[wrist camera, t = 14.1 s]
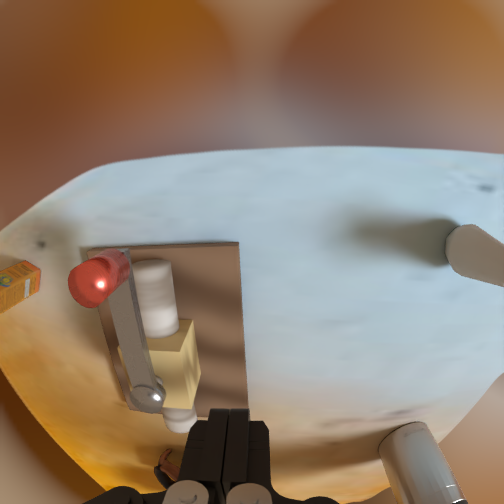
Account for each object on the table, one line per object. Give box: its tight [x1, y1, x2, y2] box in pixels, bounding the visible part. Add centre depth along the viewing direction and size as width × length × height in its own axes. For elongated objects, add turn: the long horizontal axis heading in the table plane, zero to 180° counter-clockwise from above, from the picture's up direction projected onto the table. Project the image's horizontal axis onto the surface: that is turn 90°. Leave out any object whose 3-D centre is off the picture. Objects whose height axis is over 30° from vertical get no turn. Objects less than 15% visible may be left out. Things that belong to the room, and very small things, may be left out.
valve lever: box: [68, 248, 166, 414], centre depth 19 cm, size 15×3×5 cm, turn 2°
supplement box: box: [0, 261, 41, 314], centre depth 26 cm, size 3×4×10 cm
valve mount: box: [87, 242, 249, 433], centre depth 28 cm, size 22×16×9 cm
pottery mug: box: [154, 449, 180, 490], centre depth 36 cm, size 12×10×8 cm
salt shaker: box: [445, 224, 504, 287], centre depth 22 cm, size 6×6×13 cm
